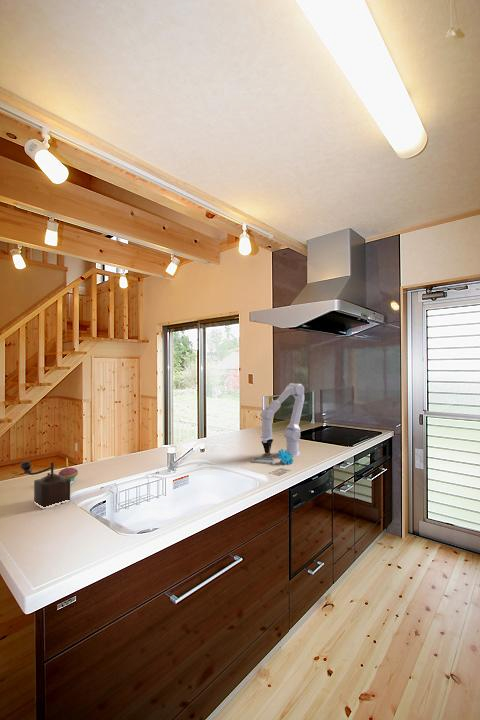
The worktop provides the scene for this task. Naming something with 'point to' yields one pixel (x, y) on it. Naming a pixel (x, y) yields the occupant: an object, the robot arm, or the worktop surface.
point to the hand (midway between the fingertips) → (267, 452)
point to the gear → (285, 457)
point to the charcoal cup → (267, 456)
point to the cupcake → (69, 472)
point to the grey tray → (263, 460)
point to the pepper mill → (48, 486)
